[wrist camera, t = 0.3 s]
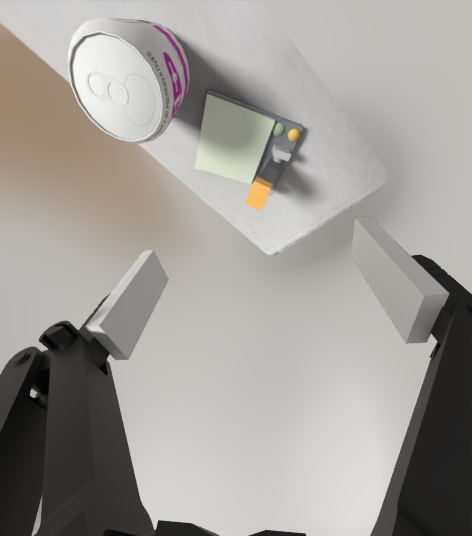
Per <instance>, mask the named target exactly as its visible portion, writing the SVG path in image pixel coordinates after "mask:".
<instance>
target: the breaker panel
mask: <svg viewBox="0 0 472 536" xmlns="http://www.w3.org/2000/svg"><path fill="white" fill-rule="evenodd" d="M302 130H303V127H302V125H300V124H298V123H295V122H293V121H290V120H287V119H285V118H282V117H280V116H277V115H274V114H272V113H269V112H266V111H264V110H261V109H259V108H256V107H253V106H251V105H248V104H246V103H243V102H240V101H238V100H235V99H232V98H230V97H227V96H225V95H222V94H219V93H217V92H214V91H212V90H209V89H208V92H207V97H206V103H205V108H204V114H203V120H202V126H201V132H200V138H199V144H198V149H197V155H196V161H195V167H194V168H196V169H200V170H203V171H206V172H210V173H213V174H217V175H220V176H224V177H227V178H230V179H234V180H237V181H241V182H244V183H248V184H251V183H252V184H253V182H254V180H255V179H256V177H258V176H259V175H260V173H261V172H262V170H263V169H264V168H265V166H266V165H267V163H268V162H269V160H270V159H271V158H272V159H274V157H276V158H280V159H282V160H281V162H280V163H283V164H282V166H281V168H280V171H279V173H278V175H277V177H276V179H275V182H274V184H273V186H272V188H271V189H270V192H269V194H268V195H271V196H272V195H273V193H274V191H275V190H274V189H275V187H276V185H277V183H278V181H279V179H280V177H281V174H282V172H283V170H284V168H285V166H286V164H287V162H288V161H289V159H290V157H291V153H292V151H293V149H294V147H295V144H296V142H297V140H298V138H299V136H300V134H301V132H302Z"/></svg>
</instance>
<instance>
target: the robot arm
mask: <svg viewBox="0 0 472 536" xmlns="http://www.w3.org/2000/svg"><path fill="white" fill-rule="evenodd" d="M351 257H352V259H353V260H354V262H355V264H356V265H357V267H358V269H359V270H360V272H361V273H362V275H363V276H364V278H365V280H366V281H367V283H368V284H369V286H370V287H371V289H372V291H373V292H374V294H375V295H376V297H377V298H378V300H379V301H380V303H381V305H382V306H383V308H384V310H385V311H386V313H387V314H388V316H389V318H390V319H391V321H392V322H393V324H394V325H395V327H396V329H397V330H398V332H399V333H400V335H401V336H402V338H403V340H404V341H405V343H406V344H407V343H423V342H424V343H425V342H427V340H428V338H429V336H430V334H431V333H432V335H433V336H434V337H435V339H436V340H437V341H438V342H437V344H436V346H435V348H434V350H433V351H432V353H431V355H430V357H431V360H430V363H429V367H428V369H427V372H426V375H425V378H424V381H423V384H422V387H421V390H420V394H419V397H418V399H417V402H416V406H415V408H414V412H413V414H412V418H411V420H410V424H409V427H408V429H407V433H406V436H405V438H404V441H403V445H402V447H401V450H400V454H399V457H398V460H397V463H396V465H395V468H394V472H393V474H392V477H391V481H390V484H389V487H388V490H387V493H386V496H385V499H384V502H383V505H382V508H381V511H380V514H379V517H378V519H377V522H376V524H375V526H374V528H373V531H372V533H371V535H370V536H472V294H471V293H469V292H468V291H467V290H466V289H465V288H464V287H463V286H462V285H460V284H459V283H458V282H457V281H456V280H455V279H454V278H452V277H451V276H450V275H448V274H447V272H445V271H444V270H443V269H441V267H440V266H438V265H437V264H436V263H435V262H434V261H433V260H431V259H429V258H426V257H425V256H422V255H414V256H410V255H409V254H408V253H407V252H406V251H405V250H404V249H403V248H402V247H401V246H400V245H399V244H398V243H397V242H396V241H395V240H394V239H392V237H391V236H389V235H388V234H387V233H386V232H385V231H384V230H383V229H382V228H381V227H380V226H379V225H378V224H377V223H376V222H375V221H374V220H373V219H372V218H371V217H370V216H365V217H358V218H355V223H354V233H353V242H352V251H351ZM168 280H169V279H168V278H167V275H166V274H165V271H164V269H163V267H162V266H161V264H160V262H159V259H158V258H157V255H156V254H155V252H154V250H147V251H143V253H142V254H141V255H140V257H139V258H138V259H137V260H136V262H135V263H134V264H133V265H132V267H131V268H130V269H129V271H128V272H127V273H126V274H125V276H124V277H123V278H122V280H121V281H120V282H119V284H118V285H117V286H116V287H115V289H114V290H113V291H112V293H110V294H109V295H108V296H107V297H105V298H104V299H103V300H102V302H101V303H100V304H99V305H98V307H97V308H96V309H95V310H94V313H92V314H91V315H90V317H89V318H88V319H87V321H86V322H85V323H84V324H83V326H82V327H81V328H80V329H79V331H78V330H77V329H76V328H75V327H74V326H73V325H72V324H71V323H70V322H69V321H61V322H59V323H56V324H54V325H53V326H51V327H49V328H48V329H47V330H46V331H45V332H44V333H43V334H42V335H41V336H40V338H39V341H40V342H41V343H42V344H43V345H44V346H46V347H47V348H48V349H49V350H46V351H43V352H41V351H40V350H39V349H38V348H36V347H29V348H26V349H24V350H22V351H20V352H19V353H17V354H16V355H14V356H13V358H12V359H10V360H9V362H8V363H7V364H6V366H5V368H4V369H3V371H2V373H1V375H0V536H31V535H32V531H33V527H34V524H35V520H36V515H37V512H38V508H39V504H40V500H41V497H42V512H41V523H40V528H39V530H38V532H37V533H36V534H35V535H34V536H219V535H218V534H216V533H213V532H211V531H208V530H206V529H204V528H201V527H199V526H196V525H194V524H191V523H182V522H171V521H160V520H158V524H157V528H156V530H154V528H153V524H152V521H151V519H150V517H149V514H148V513H147V511H146V509H145V508H144V506H143V505H142V502H141V500H140V496H139V492H138V487H137V483H136V479H135V474H134V469H133V465H132V461H131V456H130V452H129V447H128V443H127V439H126V434H125V430H124V425H123V421H122V416H121V412H120V407H119V403H118V398H117V394H116V390H115V386H114V381H113V377H112V372H111V368H110V364H109V362H108V361H107V360H106V359H107V358H108V356H109V354H110V355H112V357H113V358H114V359H115V360H127V359H129V358H130V355H131V354H132V352H133V350H134V347H135V345H136V344H137V342H138V340H139V337H140V336H141V334H142V331H143V330H144V328H145V326H146V324H147V322H148V320H149V318H150V315H151V314H152V312H153V310H154V308H155V306H156V304H157V302H158V300H159V298H160V296H161V294H162V292H163V290H164V288H165V286H166V284H167V282H168ZM31 389H33V390H34V391H36V392H37V394H36V397H35V398H33V397H31V396H30V391H31ZM42 493H43V495H42ZM249 536H306V534H304V533H294V532H282V531H271V530H265V531H262V532H259V533H255V534H253V535H249Z"/></svg>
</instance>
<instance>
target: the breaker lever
mask: <svg viewBox="0 0 472 536" xmlns="http://www.w3.org/2000/svg"><path fill="white" fill-rule="evenodd" d="M281 160H282V159H280V158H276V157H274V159H272V158H271V159H270V160H269V162H268V163H267V165H266V166H265V168H264V169H263V170H262V172H261V173H260V175H259V176H258V177H256V179H255V180H254V182H253V185H252V188H251V190H250V193H249V195H248V198H247V201H246V203H245V204H247V205H249V206H252V207H254V208H256V209H258V210H260V211H261V209H262V207H263V205H264V203H265V200H266V198H267V196H268V194H269V192H270V189H271V188H272V186H273V184H274V182H275V179H276V177H277V175H278V173H279V171H280V168H281V166H282V164H283V163H280V162H281Z"/></svg>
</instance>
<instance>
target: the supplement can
mask: <svg viewBox="0 0 472 536" xmlns="http://www.w3.org/2000/svg"><path fill="white" fill-rule="evenodd" d="M68 72H69V79H70V85H71V87H72V90H73V92H74V94H75V96H76V99H77V101H78V104H79V105H80V106H81V108H82V109H83V110H84V112H85V113H86V114H87V116H88V117H89V119H90V120H91V121H92V122H93V123H95V124H96V125H97V126H98V127H99V128H100V129H102V131H104V132H105V133H107V134H109V135H111V136H113V137H115V138H117V139H120V140H124V141H129V142H134V143H144V142H149V141H153V140H154V139H156V138H157V137H159V136H160V135H161V134H163V133H164V131H165V130H166V128H167V126H168V125H169V123H170V122H171V120H172V118H173V117H174V115H175V113H176V112H177V110H178V108H179V107H180V105H181V103H182V102H183V100H184V98H185V96H186V95H187V93H188V89H189V83H190V72H189V63H188V61H187V58H186V55H185V53H184V50H183V47H182V46H181V45H180V43H179V42H178V40H177V39H176V38H175V36H174V35H173V34H172V33H171V32H170V31H168V30H167V29H166V28H165V27H163V26H162V25H161V24H157V23H154V22H150V21H144V20H131V19H119V18H107V17H102V18H98V19H94V20H90V21H86V22H84V23H83V24H82V25H81V27H80V28H79V29H78V30H77V31H76V32H75V34H74V35H73V36H72V39H71V44H70V49H69V53H68Z"/></svg>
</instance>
